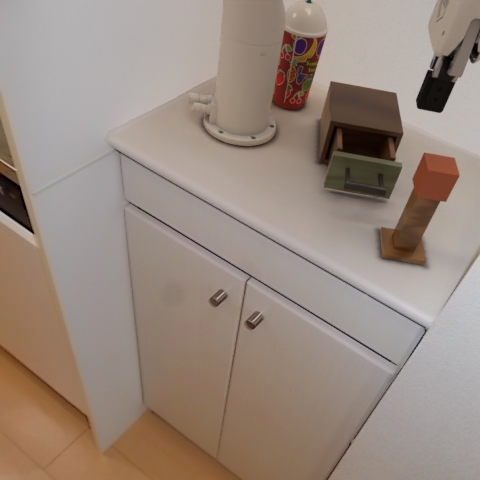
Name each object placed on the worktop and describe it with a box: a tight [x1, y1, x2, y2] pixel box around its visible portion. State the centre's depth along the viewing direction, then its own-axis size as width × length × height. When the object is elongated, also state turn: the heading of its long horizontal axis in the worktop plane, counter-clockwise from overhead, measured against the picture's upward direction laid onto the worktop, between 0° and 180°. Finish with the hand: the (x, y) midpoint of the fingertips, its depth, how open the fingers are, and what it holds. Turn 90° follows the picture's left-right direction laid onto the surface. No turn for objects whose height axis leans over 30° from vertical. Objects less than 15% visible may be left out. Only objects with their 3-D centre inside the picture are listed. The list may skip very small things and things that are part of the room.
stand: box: [379, 187, 441, 266], centre depth 72 cm, size 6×6×10 cm
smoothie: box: [272, 0, 329, 110], centre depth 92 cm, size 8×8×20 cm
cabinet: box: [318, 80, 404, 165], centre depth 89 cm, size 14×12×8 cm
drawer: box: [323, 126, 403, 200], centre depth 82 cm, size 17×10×6 cm, turn 174°
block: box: [412, 152, 461, 203], centre depth 66 cm, size 4×4×4 cm
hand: (428, 107), depth 64 cm, fingers closed
